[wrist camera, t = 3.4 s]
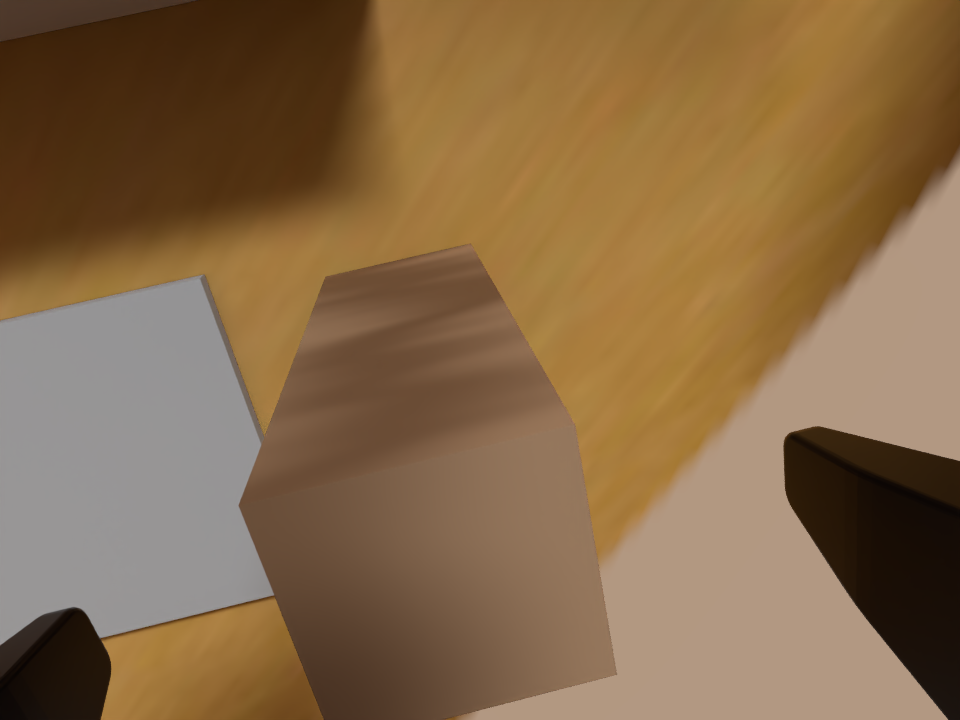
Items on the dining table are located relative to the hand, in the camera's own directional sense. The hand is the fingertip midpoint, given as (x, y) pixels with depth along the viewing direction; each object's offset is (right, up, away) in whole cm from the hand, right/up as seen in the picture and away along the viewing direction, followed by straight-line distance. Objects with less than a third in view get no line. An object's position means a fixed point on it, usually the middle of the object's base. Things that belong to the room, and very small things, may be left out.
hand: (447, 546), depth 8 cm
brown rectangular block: (-1, +3, +9) cm, 9 cm away
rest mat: (-10, -1, +9) cm, 13 cm away
